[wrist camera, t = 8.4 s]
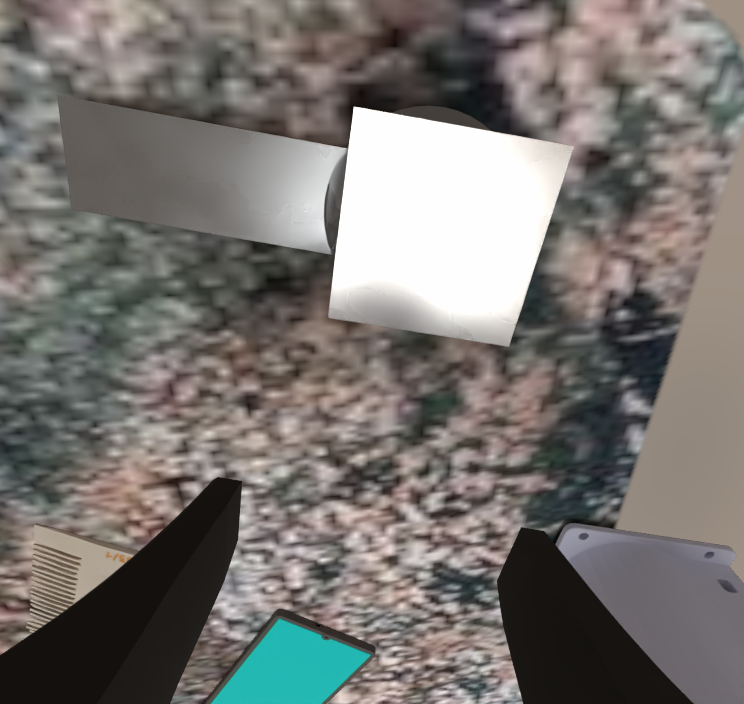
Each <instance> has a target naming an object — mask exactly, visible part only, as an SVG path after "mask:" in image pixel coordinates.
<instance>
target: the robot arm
mask: <svg viewBox="0 0 744 704" xmlns="http://www.w3.org/2000/svg"><path fill="white" fill-rule="evenodd" d="M241 489H242V481H238V480H232V479H226V478H220V477H217V478H216V479H214V480H213V481H212V482H211V483H210V484H209V485H208V486H207V487H206V488H205V489H204V490H203V491H202V492H201V493H200V494H199V495H198V496H197V497H196V498H195V499H194V500H193V501H192V502H191V503H190V504H189V505H188V506H187V507H186V508H185V509H184V510H183V511H182V512H181V513H180V514H179V515H178V516H177V517H176V518H175V519H174V520H173V521H172V522H171V523H170V524H169V525H168V526H167V527H165V528H164V529H163V530H162V531H161V532H160V533H159V534H158V535H157V536H156V537H155V538H154V539H152V540H151V541H150V542H149V543H148V544H147V545H146V546H145V547H144V548H142V549H141V550H140V551H139V552H138V553H137V554H135V555H134V556H133V557H132V558H131V559H129V560H128V561H127V562H126V563H125V564H123V565H122V566H121V567H120V568H119V569H118V570H116V571H115V572H114V573H113V574H112V575H110V576H109V577H108V578H107V579H105V580H104V581H103V582H102V583H100V584H99V585H98V586H97V587H95V588H94V589H93V590H91V591H90V592H89V593H88V594H86V595H85V596H84V597H82V598H81V599H80V600H78V601H77V602H76V603H74V604H73V605H72V606H70V607H69V608H68V609H66V610H65V611H64V612H62V613H61V614H59V615H58V616H57V617H55V618H54V619H52V620H51V621H49V622H48V623H47V624H45V625H44V626H42V627H41V628H39V629H38V630H36V631H35V632H34V633H32V634H31V635H29V636H28V637H26V638H25V639H24V640H22V641H21V642H19V643H18V644H16V645H15V646H13V647H12V648H10V649H9V650H7V651H6V652H4V653H3V654H1V655H0V704H170V702H171V700H172V698H173V695H174V693H175V690H176V688H177V685H178V683H179V681H180V678H181V676H182V674H183V672H184V670H185V667H186V665H187V663H188V661H189V658H190V656H191V654H192V652H193V650H194V647H195V645H196V643H197V641H198V638H199V636H200V634H201V632H202V630H203V627H204V625H205V623H206V621H207V619H208V616H209V614H210V612H211V610H212V607H213V605H214V603H215V601H216V598H217V596H218V594H219V592H220V589H221V587H222V585H223V583H224V580H225V577H226V574H227V571H228V568H229V565H230V562H231V559H232V556H233V553H234V550H235V547H236V544H237V541H238V532H239V517H240V503H241ZM735 558H736V553H735V552H734V551H733V550H732V548H730V547H729V546H724V545H718V544H711V543H704V542H698V541H690V540H684V539H678V538H671V537H664V536H658V535H651V534H644V533H637V532H631V531H624V530H618V529H611V528H604V527H598V526H591V525H584V524H578V523H570V524H567V525H566V526H565V527H564V528H563V530H562V532H561V534H560V536H559V538H558V540H557V542H556V544H554V542H553V541H552V540H551V539H550V538H549V536H548V535H547V534H546V533H545V532H544V531H540V530H534V529H528V528H522V527H521V529H520V531H519V533H518V536H517V538H516V540H515V542H514V544H513V547H512V549H511V551H510V553H509V555H508V558H507V560H506V562H505V564H504V566H503V569H502V571H501V573H500V575H499V578H498V580H497V585H498V593H499V601H500V608H501V614H502V621H503V626H504V630H505V634H506V638H507V642H508V646H509V650H510V654H511V658H512V662H513V666H514V670H515V673H516V677H517V681H518V685H519V689H520V692H521V696H522V700H523V704H744V583H743V582H742V581H741V580H740V579H739V577H738V576H737V575H736V574H735V573H734V571H733V570H732V569H731V568H730V567H729V566H730V565H731V563H732V562H733V561H734V559H735Z"/></svg>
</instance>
